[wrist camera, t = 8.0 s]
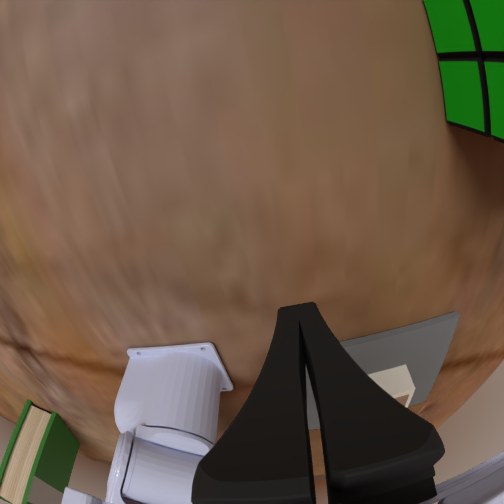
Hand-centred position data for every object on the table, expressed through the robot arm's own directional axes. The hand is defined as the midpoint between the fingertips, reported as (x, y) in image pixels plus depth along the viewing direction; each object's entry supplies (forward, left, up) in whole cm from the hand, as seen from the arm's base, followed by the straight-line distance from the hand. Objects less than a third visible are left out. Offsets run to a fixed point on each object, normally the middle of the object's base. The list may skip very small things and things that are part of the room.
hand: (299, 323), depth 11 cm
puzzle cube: (+18, +10, -11) cm, 23 cm away
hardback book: (-53, -36, -11) cm, 65 cm away
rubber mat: (+7, -23, -10) cm, 26 cm away
